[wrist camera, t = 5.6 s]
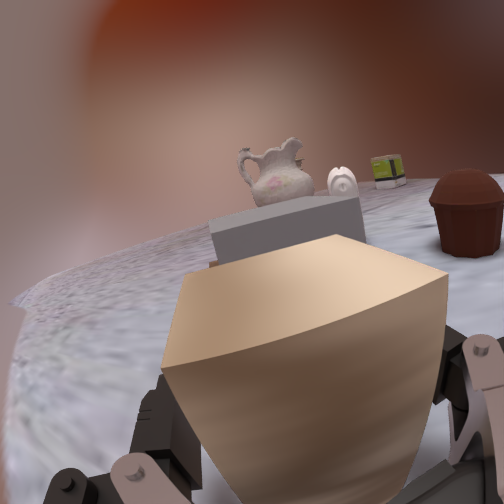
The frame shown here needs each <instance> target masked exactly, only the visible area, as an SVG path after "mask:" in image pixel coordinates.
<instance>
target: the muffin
mask: <svg viewBox="0 0 504 504" xmlns="http://www.w3.org/2000/svg"><path fill="white" fill-rule="evenodd" d="M429 202H430V205H431V206H432V207H434V211H435V216H436V220H437V225H438V229H439V234H440V240H441V245H442V250H443V252H445V253H448V254H450V255H452V256H455V257H467V258H479V257H483V256H489V255H493V253H494V252H495V251H496V250H498V249H499V245H500V238H501V231H502V222H503V210H504V192H503V191H502V189H501V187H500V186H499V185H498V183H497V182H496V181H495V180H494V179H493V178H492V177H491V176H489V175H488V174H486V173H485V172H483V171H481V170H477V169H458V170H453V171H450V172H448V173H446V174H445V175H444V176H443V177H442V178H440V180H439V181H438V182H437V184H436V186H435V188H434V190H433V192H432V195H431V197H430V199H429Z"/></svg>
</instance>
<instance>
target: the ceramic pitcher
mask: <svg viewBox="0 0 504 504" xmlns="http://www.w3.org/2000/svg"><path fill="white" fill-rule="evenodd" d="M301 147H302V143H301V141H300V140H298V139H297V138H293V137H292V138H290V139H288V140H285V141H284V142H283V144H282V146H281V147H275V148H270V149H268V150H267V151H266V152H265V153H264V154H263V156H261V155H256V156H254V155H253V154H252V153H251V152H250V151H249V149H250V148H243V149H242V150H240V151H239V156H238V160H237V164H238V169H239V172H240V174H241V176H242V177H243V178H244V180H245V181H246V183H248V184H249V186H250V188H251V192H252V195H253V199H254V201H255V203H256V205H257V206H258V207H262V206H266V205H271V204H275V203H279V202H283V201H287V200H292V199H296V198H300V197H305V196H313V195H314V183H313V180H312V178H311V177H310V176H309V175H308V174H306V173H305V172H303V171H301V170H299V168H298V167H297V165H296V162H295V156H296V153H297V151H298V150H299V149H300V148H301ZM245 159H251V160H253V161H255V162H257V164H258V166H259V168H260V178H259V180H258V182H257V183H256V184H254V182H253V181H252V178H251V177H250V175H249V174H248V173H247V172H246V170H245V167H244V160H245Z"/></svg>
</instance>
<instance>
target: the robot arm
mask: <svg viewBox="0 0 504 504" xmlns="http://www.w3.org/2000/svg"><path fill="white" fill-rule="evenodd" d="M446 398H447V399H448V400H449V404H448V416H449V428H450V454H449V458H448V461H447V460H446V459H445V460H443V461H442V462H441V463H439V464H438V465H436V466H435V467H433V468H432V469H430V470H429V471H427V472H426V473H424V474H423V475H421V476H419V477H418V478H416V479H415V480H413V481H412V482H411V483H410V484H409V485H407V486H406V487H405V488H404V489H403V490H402V491H401V492H399V493H398V494H397V495H396V496H395V497H393V498H392V499H391V500H390V501H389V502H387V503H386V504H504V337H501V338H499V339H497V340H496V339H495V338H493V337H492V336H489V335H484V334H478V335H473V336H471V337H469V338H467V337H465V336H464V335H462V334H461V333H459V332H457V331H456V330H454V329H452V328H451V327H449V326H447V325H445V334H444V342H443V349H442V356H441V362H440V368H439V373H438V378H437V383H436V388H435V392H434V396H433V401H432V402H433V403H434V404H435V405H437V404H438V403H440V402H441V401H443V400H444V399H446ZM139 412H140V413H138V417H137V422H136V425H135V430H134V434H133V438H132V443H131V447H130V452H129V454H127V455H124V456H122V457H121V458H119V459H118V460H117V461H116V462H115V463H114V465H113V466H112V468H111V472H110V473H107V474H103V475H98V476H94V477H89V478H87V477H86V476H85V475H84V474H83V473H82V472H81V471H80V470H78V469H75V468H66V469H63V470H61V471H59V472H58V473H57V474H55V476H54V477H53V478H52V480H51V482H50V485H49V488H48V491H47V493H46V496H45V499H44V502H43V504H194V503H193V502H192V497H191V490H200V489H202V468H201V442H200V441H199V439H198V437H197V436H196V434H195V432H194V431H193V429H192V427H191V425H190V424H189V422H188V420H187V418H186V417H185V415H184V413H183V411H182V409H181V408H180V406H179V404H178V402H177V400H176V398H175V396H174V394H173V392H172V391H171V389H170V387H169V385H168V383H167V381H166V379H165V377H164V374H161V375H159V378H158V382H157V387H156V389H155V390H149V392H148V393H147V394H146V395H145V397H144V398H143V399H142V401H141V405H140V409H139Z"/></svg>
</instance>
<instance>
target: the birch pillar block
mask: <svg viewBox="0 0 504 504" xmlns="http://www.w3.org/2000/svg"><path fill="white" fill-rule="evenodd" d="M447 300H448V273H446V272H443V271H441V270H438V269H436V268H433V267H430V266H427V265H425V264H422V263H419V262H416V261H414V260H411V259H408V258H405V257H403V256H400V255H397V254H394V253H391V252H388V251H385V250H382V249H380V248H377V247H374V246H371V245H368V244H365V243H362V242H359V241H356V240H353V239H350V238H347V237H343V236H340V235H337V234H335V235H332V236H328V237H324V238H320V239H317V240H313V241H309V242H306V243H302V244H298V245H294V246H291V247H287V248H283V249H279V250H276V251H272V252H268V253H264V254H261V255H257V256H253V257H249V258H245V259H242V260H238V261H234V262H230V263H226V264H223V265H219V266H215V267H211V268H207V269H204V270H200V271H196V272H192V273H188V274H185V277H184V280H183V284H182V287H181V291H180V294H179V298H178V301H177V305H176V309H175V312H174V316H173V320H172V324H171V328H170V332H169V336H168V339H167V344H166V348H165V352H164V356H163V360H162V364H161V370H162V372H163V374H164V377H165V379H166V381H167V383H168V385H169V387H170V389H171V391H172V392H173V394H174V396H175V398H176V400H177V402H178V404H179V406H180V408H181V409H182V411H183V413H184V415H185V417H186V418H187V420H188V422H189V424H190V425H191V427H192V429H193V431H194V432H195V434H196V436H197V437H198V439H199V441H200V442H201V444H202V445H203V447H204V449H205V450H206V452H207V453H208V455H209V456H210V458H211V459H212V461H213V463H214V464H215V466H216V467H217V468H218V470H219V471H220V473H221V474H222V476H223V477H224V479H225V480H226V481H227V483H228V484H229V486H230V487H231V488H232V490H233V491H234V492H235V494H236V495H237V496H238V498H239V499H240V500H241V502H242V503H243V504H386V503H387V502H389V501H390V500H391V499H392V498H393V497H395V496H396V495H397V494H398V493H399V492H401V490H402V488H403V486H404V483H405V481H406V479H407V476H408V474H409V472H410V469H411V467H412V464H413V461H414V459H415V456H416V453H417V451H418V448H419V445H420V442H421V439H422V436H423V433H424V430H425V426H426V423H427V419H428V416H429V412H430V408H431V405H432V401H433V396H434V392H435V388H436V383H437V378H438V373H439V368H440V362H441V356H442V349H443V342H444V334H445V325H446V314H447Z"/></svg>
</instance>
